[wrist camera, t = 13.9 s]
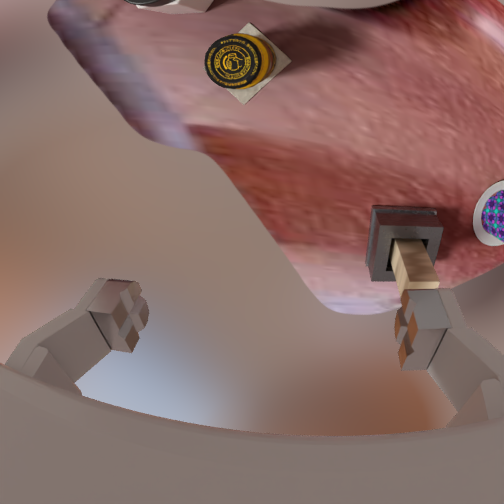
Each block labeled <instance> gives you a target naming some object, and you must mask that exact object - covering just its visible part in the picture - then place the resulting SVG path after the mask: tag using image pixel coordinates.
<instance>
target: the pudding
mask: <svg viewBox="0 0 504 504" xmlns="http://www.w3.org/2000/svg"><path fill="white" fill-rule="evenodd" d="M499 190H501V191H499ZM497 191H499V192H497ZM495 192H497V194H496V196H493V197H490V196H491V195H493V194H494V193H495ZM489 197H490V198H489ZM487 200H488V201H487ZM486 201H487V203H486ZM485 203H486V208H485V209H484V210H483V207H484V205H485ZM482 210H483V212H482ZM481 214H482V219H483V221H484V225H483V226H482V223H481ZM483 227H484V228H483ZM473 228H474V231H475V234H476V236H477V238H478V239H479V240H480V241H481V242H482V243H484V244H486V245H489V246H498V245H502V244H504V180H503V181H500V182H497V183H495V184H494V185H492V186H491V187H490V188H488V189H487V190H486V191H485V192H484V194H483V195H482V196H481V198H480V199H479V201H478V203H477V205H476V208H475V211H474V216H473ZM484 229H485V230H486V231H487V232H489V233H490V234H489V233H487V232H486V231H485V230H484ZM491 234H492V235H491Z"/></svg>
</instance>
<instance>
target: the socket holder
mask: <svg viewBox="0 0 504 504" xmlns="http://www.w3.org/2000/svg"><path fill="white" fill-rule="evenodd" d="M436 214H437V211H436V209H435V208H421V207H399V206H372V209H371V219H370V228H369V237H368V245H367V253H366V260H365V264H366V266H368V267H369V272H370V277H371V281H396V279H395V275H394V271H393V268H392V265H391V261H390V258H389V251H390V245H391V239H392V238H412V239H421V240H422V243H423V245H424V247H425V249H426V251H427V253H428V256H429V258H430V260H431V262H432V264H433V267H434V264H435V260H436V256H437V252H438V249H439V245H440V241H441V237H442V232H443V228H444V227H443V225H442V224H441V222H440V221H439V219H438V217H437V216H436Z"/></svg>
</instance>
